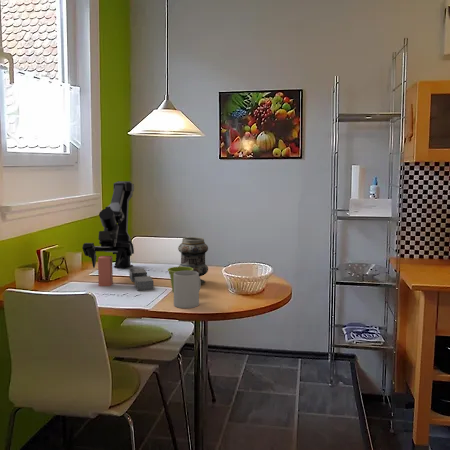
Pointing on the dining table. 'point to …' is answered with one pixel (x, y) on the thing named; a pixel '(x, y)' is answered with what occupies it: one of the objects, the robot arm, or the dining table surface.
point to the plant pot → (175, 269)
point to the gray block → (141, 279)
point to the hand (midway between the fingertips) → (104, 267)
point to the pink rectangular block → (105, 271)
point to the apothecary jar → (194, 255)
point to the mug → (186, 289)
